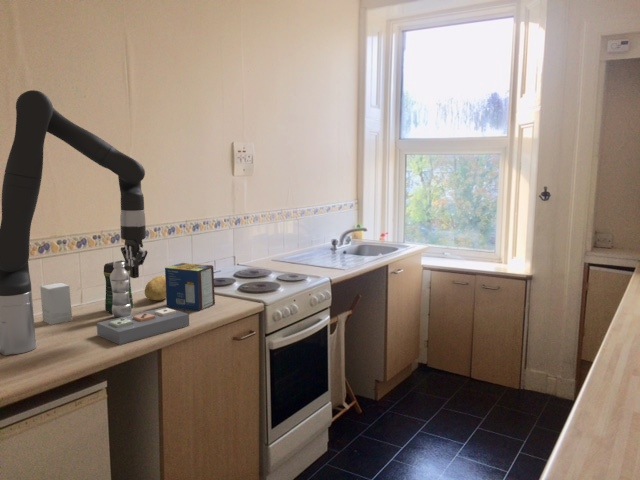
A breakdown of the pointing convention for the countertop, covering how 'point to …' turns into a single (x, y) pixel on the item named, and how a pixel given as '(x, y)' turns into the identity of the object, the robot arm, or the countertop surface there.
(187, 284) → the protein box
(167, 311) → the button one dot
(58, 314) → the supplement box
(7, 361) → the countertop surface
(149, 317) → the button three dots
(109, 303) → the coffee jar
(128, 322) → the button two dots
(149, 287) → the potato
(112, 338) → the button panel
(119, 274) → the plastic bottle
